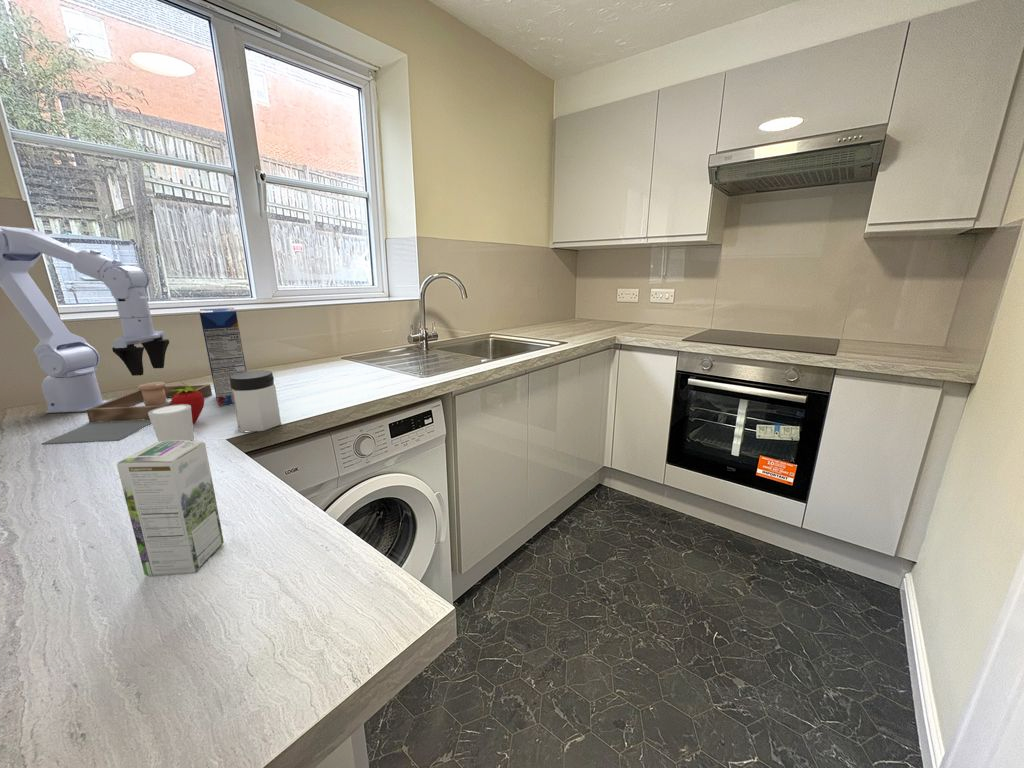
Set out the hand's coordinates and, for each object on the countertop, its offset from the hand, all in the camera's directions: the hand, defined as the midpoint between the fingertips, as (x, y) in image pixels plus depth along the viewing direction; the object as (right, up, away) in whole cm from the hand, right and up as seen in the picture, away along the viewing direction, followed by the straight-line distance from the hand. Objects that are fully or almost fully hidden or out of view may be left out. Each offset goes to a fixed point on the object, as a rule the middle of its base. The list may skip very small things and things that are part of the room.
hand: (148, 371), depth 104 cm
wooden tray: (0, -9, +2) cm, 9 cm away
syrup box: (+52, -25, -54) cm, 79 cm away
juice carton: (+15, -7, +9) cm, 19 cm away
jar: (+34, -13, -10) cm, 38 cm away
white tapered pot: (+22, -15, -19) cm, 33 cm away
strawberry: (+18, -12, -9) cm, 23 cm away
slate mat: (+2, -13, -14) cm, 19 cm away
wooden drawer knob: (0, -9, +2) cm, 9 cm away
